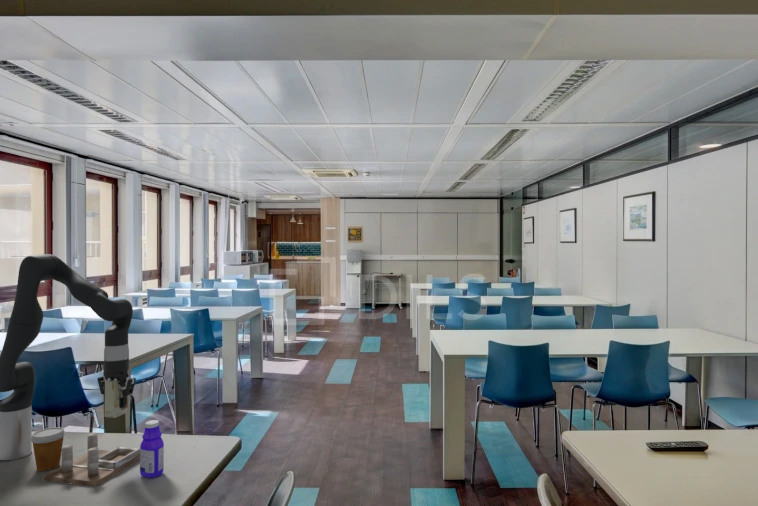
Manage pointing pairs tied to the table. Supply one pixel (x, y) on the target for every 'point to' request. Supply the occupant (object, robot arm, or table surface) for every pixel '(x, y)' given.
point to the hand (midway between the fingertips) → (116, 406)
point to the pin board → (83, 472)
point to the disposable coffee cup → (48, 447)
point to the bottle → (151, 451)
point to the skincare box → (113, 400)
